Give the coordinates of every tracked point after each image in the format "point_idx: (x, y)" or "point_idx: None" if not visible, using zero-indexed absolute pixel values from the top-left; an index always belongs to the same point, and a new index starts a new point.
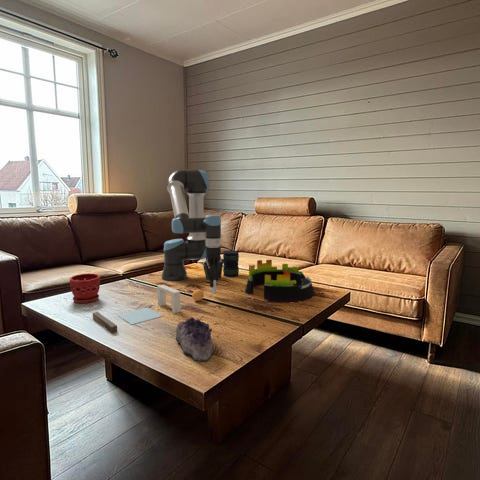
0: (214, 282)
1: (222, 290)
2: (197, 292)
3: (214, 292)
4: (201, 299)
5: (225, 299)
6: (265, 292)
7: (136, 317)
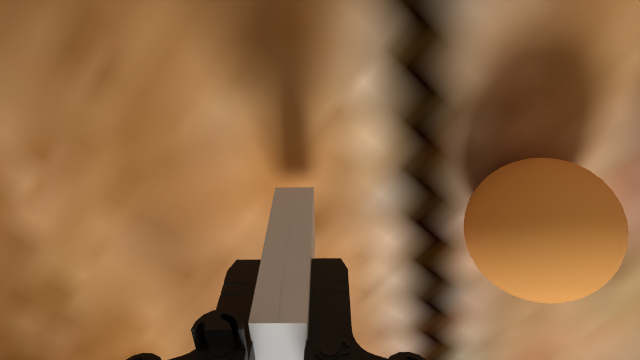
0: (297, 302)
1: (103, 283)
2: (618, 231)
3: (308, 197)
4: (522, 160)
5: (242, 23)
6: None
7: None
